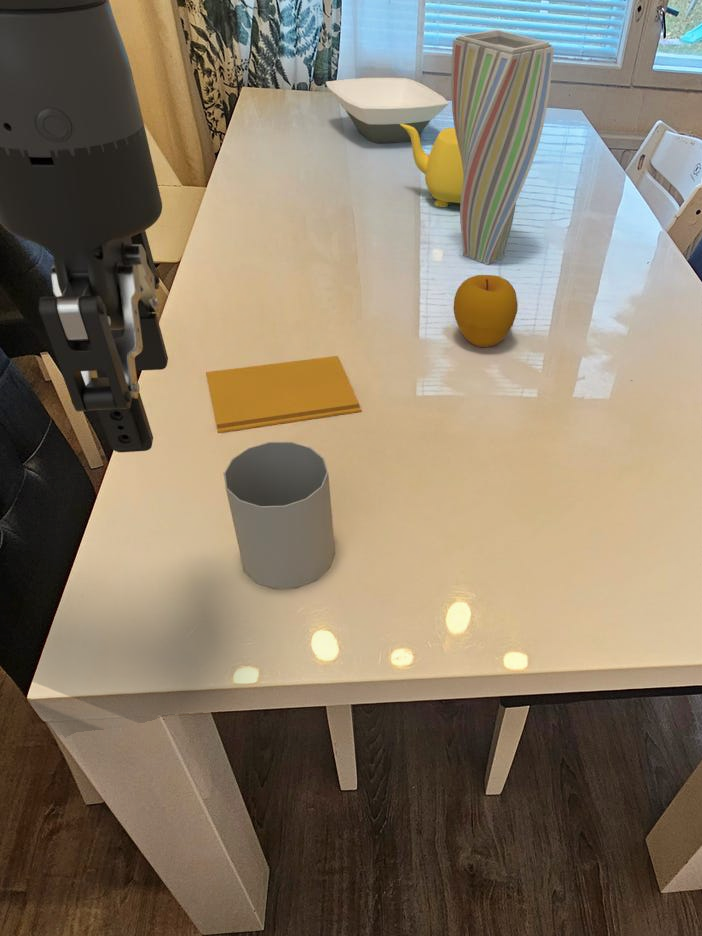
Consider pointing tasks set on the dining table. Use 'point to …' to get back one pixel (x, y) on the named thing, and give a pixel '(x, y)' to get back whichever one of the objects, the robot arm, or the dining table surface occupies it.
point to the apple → (485, 309)
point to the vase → (496, 130)
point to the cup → (281, 513)
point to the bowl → (387, 106)
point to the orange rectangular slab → (280, 393)
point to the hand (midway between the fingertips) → (143, 405)
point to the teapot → (440, 165)
